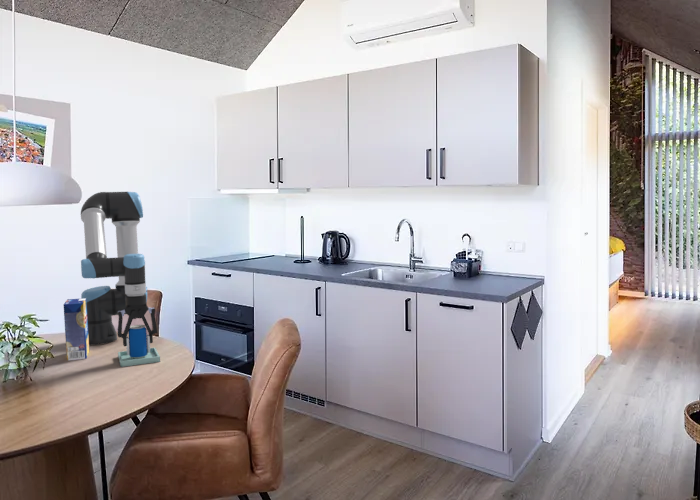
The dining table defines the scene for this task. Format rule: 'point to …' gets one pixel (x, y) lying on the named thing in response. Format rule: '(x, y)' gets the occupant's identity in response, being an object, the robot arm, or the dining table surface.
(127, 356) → the tray
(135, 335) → the beverage can
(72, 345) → the beverage box
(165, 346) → the dining table surface
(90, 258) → the robot arm
